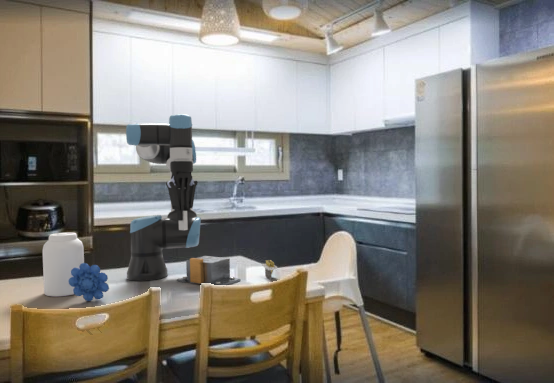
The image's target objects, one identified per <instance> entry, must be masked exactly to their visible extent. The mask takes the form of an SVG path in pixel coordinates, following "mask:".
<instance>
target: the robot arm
mask: <svg viewBox="0 0 554 383" xmlns="http://www.w3.org/2000/svg"><path fill="white" fill-rule="evenodd" d="M125 128H126V130H125V137H126V143H127V145H130V146H134V147H135V151H136V153H137V155H138V156H139V157H140V158H141V159H142V160H143V161H146V162H148V163H151V164H158V165H166V168H167V169H168V170H169V181H165V186H166V188H167V190H168V194H169V201H170V211H169V212H168V214H167V217H166V218H163V217H162V215H161V214H155V215H147V216H143V217H138V218H134V219H133V220H131V222H130V225H129V226H130V228H129V229H130V231H129V234H130V260H129V264H128V268H127V271H126V279H127V280H129V281H135V282H141V281H144V282H145V281H154V280H159V279H164V278H166V277H168V268H167V266H166V262H165V259H164V256H163V249H180V248H183V249H185V248H186V249H188V248H194V247H197V246H198V245H200V244H199V243H200V236H201V234H200V233H201V219H202V218H201V217H199V216H198V214H197V212H196V211H195V210H193V207H194V200H195V194H196V188H197V185H198V184H199V182H198V181H197V180H195V179H193V176H192V172H194V164H196V163H197V152H196V145H195V142H194V140H193V122H192V116H190V115H188V114H180V113H179V114H172V115H170V116H169V118H168V123H138V122H136V123H128V124H127V125H126V127H125Z"/></svg>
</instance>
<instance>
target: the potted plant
mask: <svg viewBox="0 0 554 383" xmlns="http://www.w3.org/2000/svg"><path fill="white" fill-rule="evenodd" d="M261 266H262V267H263V268H264V270H265V276H264V277H266V279H268V280H269V282H271V281H272V275H273V273H274V270H278V266H277V265H275V262H274V261H272V260H271V259H268V260H265V263H262V264H261Z"/></svg>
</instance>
